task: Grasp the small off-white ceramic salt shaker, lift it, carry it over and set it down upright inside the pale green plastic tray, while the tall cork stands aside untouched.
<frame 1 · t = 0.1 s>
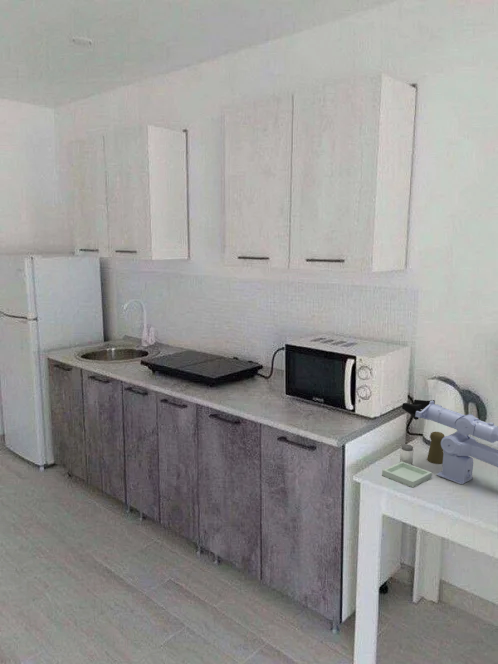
hand: (408, 404, 193), 22 cm above the table, tool horizontal, fingers open, 7 cm apart
cork: (435, 461, 196), on the table
tray: (406, 476, 181), on the table
salt shaker: (405, 464, 191), on the table
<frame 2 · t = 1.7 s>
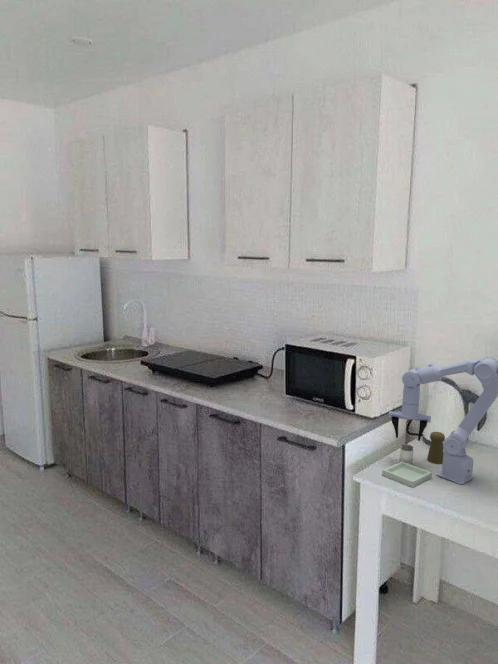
hand: (407, 438, 190), 10 cm above the table, tool pointing down, fingers open, 7 cm apart
nothing on the table moved.
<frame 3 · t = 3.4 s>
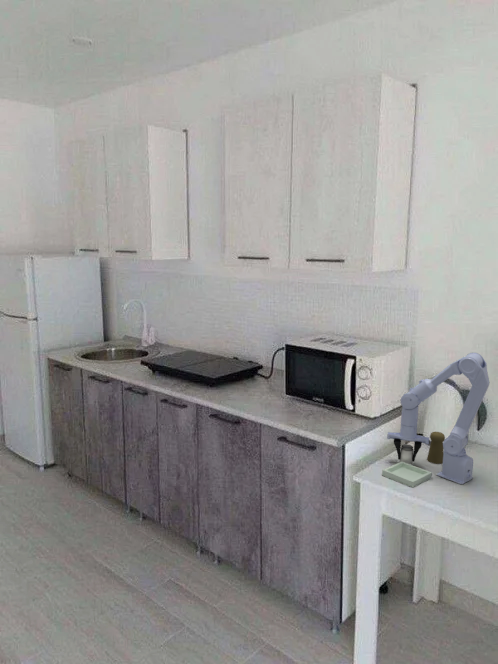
hand: (406, 459, 191), 2 cm above the table, tool pointing down, fingers closed on salt shaker, 4 cm apart
salt shaker: (405, 464, 191), on the table, touching gripper
everything else where it was.
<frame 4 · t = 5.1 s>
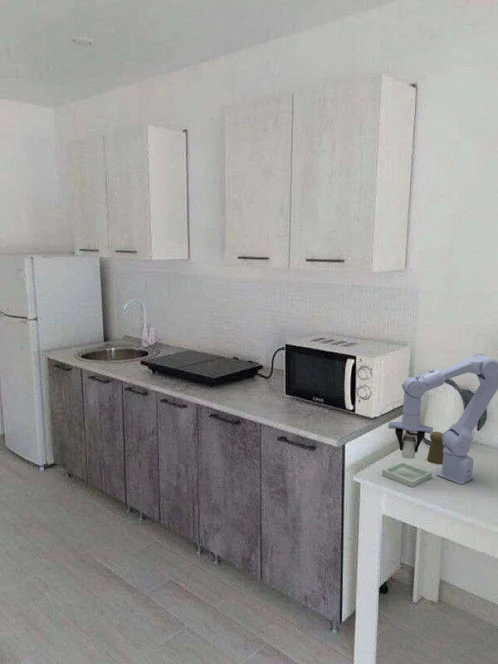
hand: (408, 450, 180), 9 cm above the table, tool pointing down, fingers closed on salt shaker, 4 cm apart
salt shaker: (408, 456, 180), point 7 cm above the table, touching gripper
everything else where it was.
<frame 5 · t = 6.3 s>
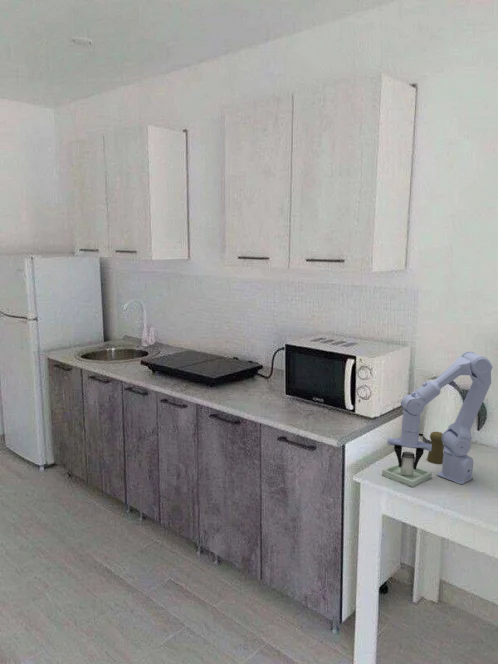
hand: (407, 467, 181), 3 cm above the table, tool pointing down, fingers closed on salt shaker, 4 cm apart
salt shaker: (407, 472, 181), point 1 cm above the table, touching gripper
everything else where it was.
when the fingers open (3 cm above the table, at t = 7.1 s): salt shaker stays where it is, resting on tray.
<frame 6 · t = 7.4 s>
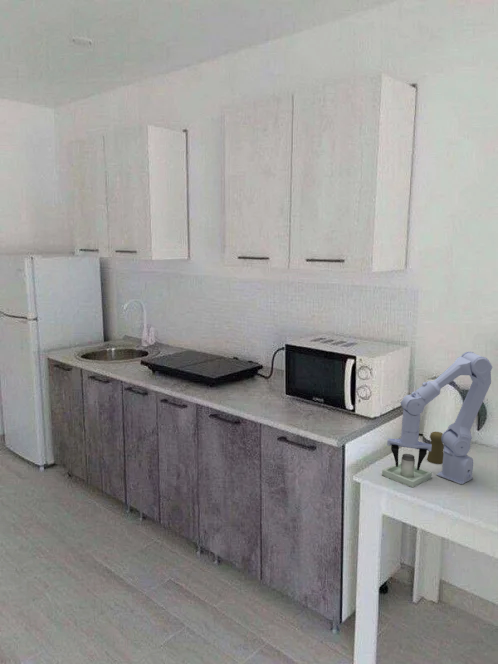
hand: (407, 467, 181), 3 cm above the table, tool pointing down, fingers open, 6 cm apart
salt shaker: (406, 475, 181), point 1 cm above the table, touching tray
everything else where it was.
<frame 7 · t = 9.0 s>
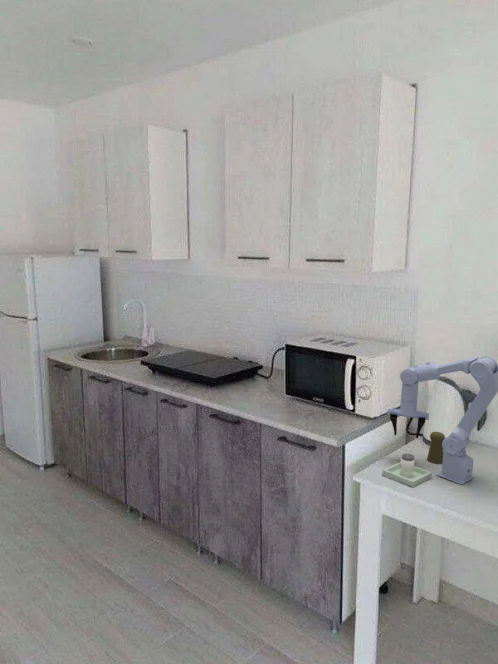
hand: (406, 435, 191), 10 cm above the table, tool pointing down, fingers open, 7 cm apart
nothing on the table moved.
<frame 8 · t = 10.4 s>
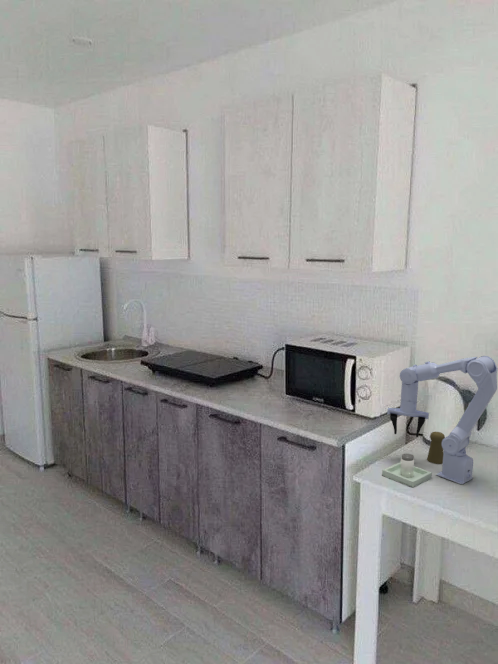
hand: (406, 434, 192), 10 cm above the table, tool pointing down, fingers open, 7 cm apart
nothing on the table moved.
at the end: salt shaker 0.2 cm from the tray (horizontally); salt shaker point 0.6 cm above the table; salt shaker tilted 2° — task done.
